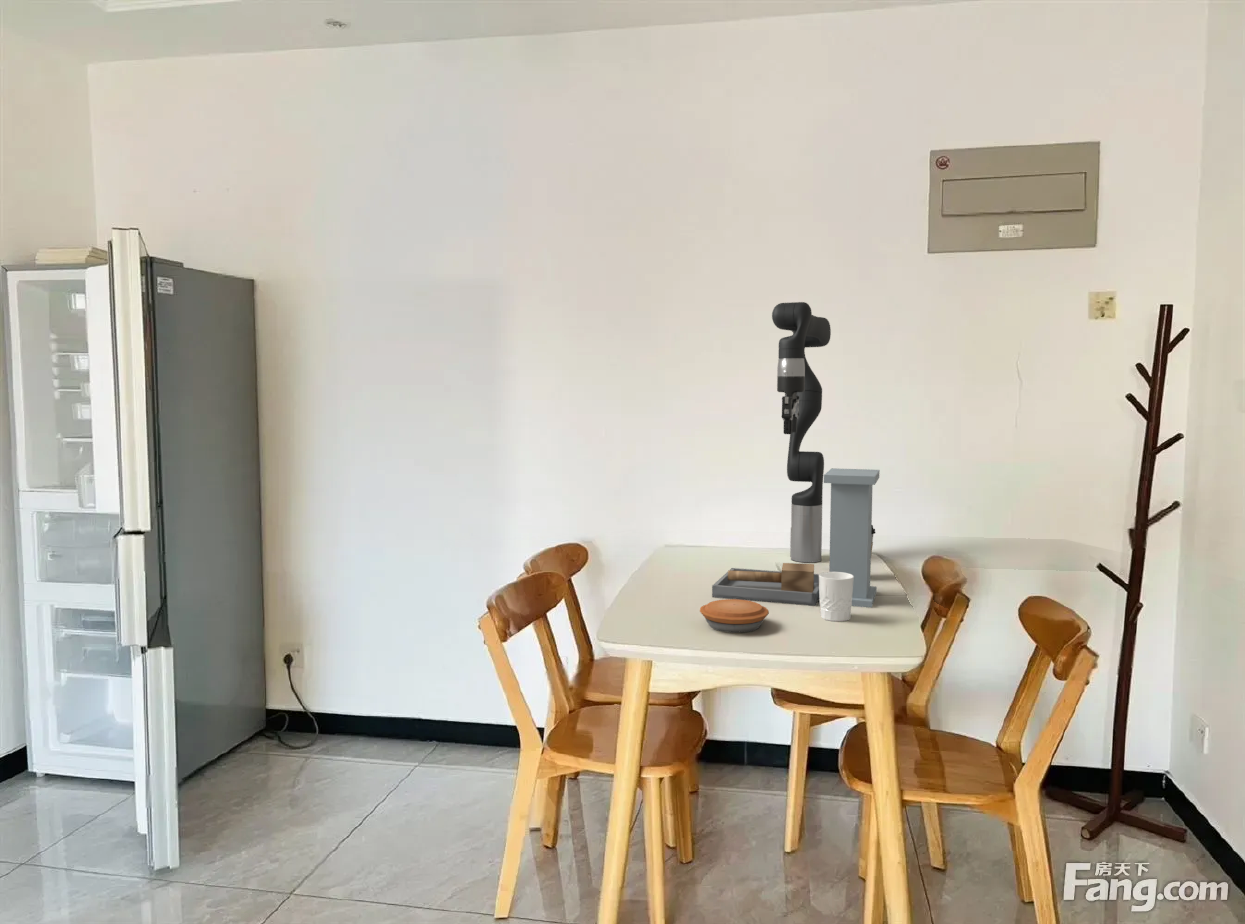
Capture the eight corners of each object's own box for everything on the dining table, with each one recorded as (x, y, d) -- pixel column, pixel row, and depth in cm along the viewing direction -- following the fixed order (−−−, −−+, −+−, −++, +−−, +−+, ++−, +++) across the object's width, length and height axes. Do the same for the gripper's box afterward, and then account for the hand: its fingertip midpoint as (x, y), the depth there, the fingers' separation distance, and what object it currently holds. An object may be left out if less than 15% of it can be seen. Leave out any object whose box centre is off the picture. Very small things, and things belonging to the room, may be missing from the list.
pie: (780, 632, 191) (781, 610, 191) (714, 638, 187) (715, 615, 187) (751, 614, 206) (751, 593, 206) (690, 619, 202) (690, 598, 201)
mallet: (726, 590, 225) (726, 567, 225) (730, 582, 234) (730, 560, 233) (813, 595, 220) (813, 571, 220) (813, 586, 229) (814, 564, 228)
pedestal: (821, 603, 215) (823, 474, 212) (829, 588, 230) (831, 468, 227) (871, 607, 211) (875, 476, 208) (876, 592, 226) (879, 469, 223)
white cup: (854, 614, 205) (855, 573, 204) (851, 623, 198) (852, 580, 197) (820, 611, 207) (820, 570, 207) (816, 620, 200) (816, 577, 199)
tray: (712, 597, 222) (712, 585, 221) (731, 578, 242) (731, 567, 242) (815, 606, 213) (815, 594, 212) (826, 585, 233) (827, 574, 233)
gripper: (800, 374, 234) (799, 435, 236) (808, 375, 247) (807, 432, 249) (772, 375, 237) (772, 434, 238) (781, 375, 250) (781, 431, 251)
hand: (790, 433), depth 243 cm, fingers open, 8 cm apart
